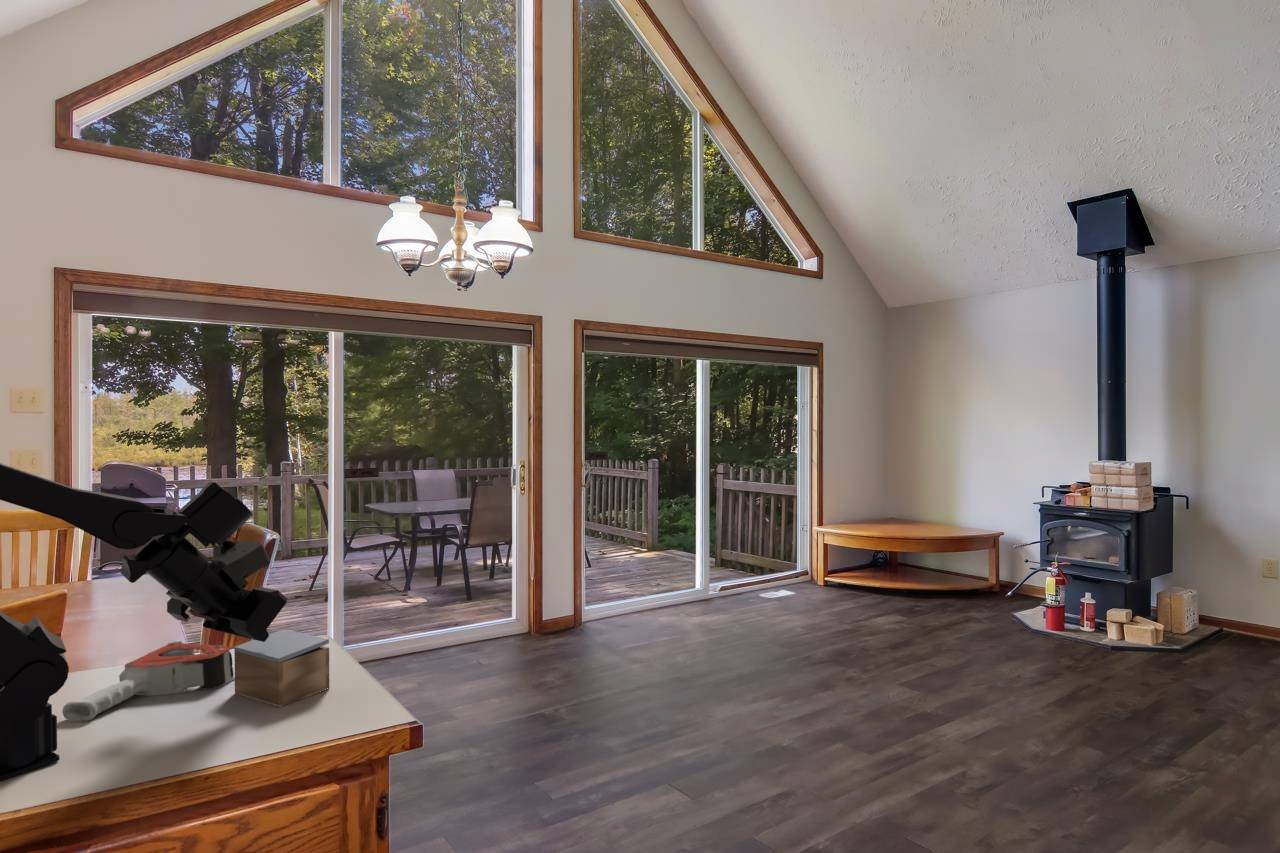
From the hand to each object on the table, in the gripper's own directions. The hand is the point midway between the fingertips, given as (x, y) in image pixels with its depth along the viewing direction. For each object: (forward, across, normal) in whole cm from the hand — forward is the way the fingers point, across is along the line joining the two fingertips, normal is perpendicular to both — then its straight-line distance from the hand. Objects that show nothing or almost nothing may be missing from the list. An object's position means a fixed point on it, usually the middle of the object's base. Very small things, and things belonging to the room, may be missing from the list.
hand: (265, 638), depth 108 cm
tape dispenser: (+2, +16, +11) cm, 19 cm away
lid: (+3, 0, -1) cm, 3 cm away
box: (+8, 0, +4) cm, 9 cm away
